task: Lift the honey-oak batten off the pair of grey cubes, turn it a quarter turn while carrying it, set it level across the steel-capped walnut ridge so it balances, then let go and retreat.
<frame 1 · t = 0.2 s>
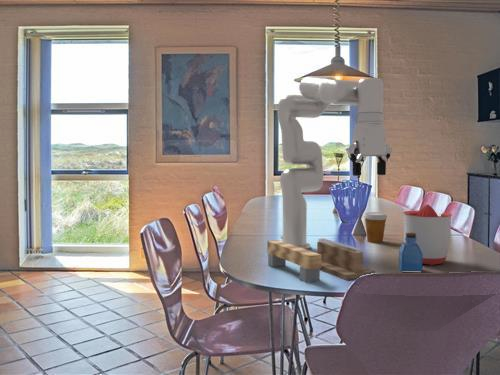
hand: (369, 175, 143), 31 cm above the table, tool pointing down, fingers open, 9 cm apart
perfume bottle: (410, 271, 149), on the table
disposable coffee cup: (375, 241, 198), on the table
pair of grey cubes: (292, 272, 147), on the table
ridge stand: (338, 269, 150), on the table
citrus juicer: (427, 261, 162), on the table
oak batten: (292, 259, 147), point 4 cm above the table, touching pair of grey cubes
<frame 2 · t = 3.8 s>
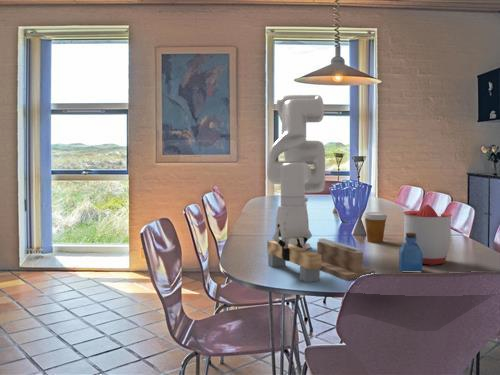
hand: (292, 258, 147), 4 cm above the table, tool pointing down, fingers closed on oak batten, 4 cm apart
oak batten: (292, 259, 147), point 4 cm above the table, touching gripper, pair of grey cubes
everything else where it was.
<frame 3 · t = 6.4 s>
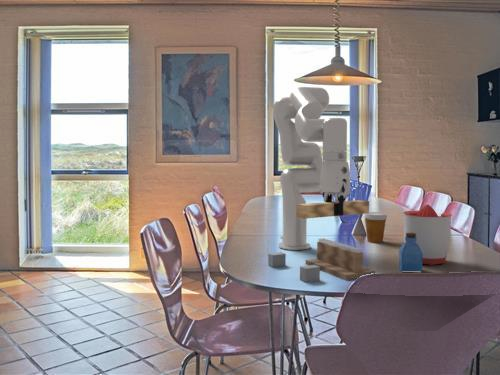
hand: (333, 214, 149), 18 cm above the table, tool pointing down, fingers closed on oak batten, 4 cm apart
oak batten: (333, 215, 149), point 18 cm above the table, touching gripper
everything else where it was.
when the fingers open (10 cm above the table, at t = 8.8 s): oak batten drops 1 cm, resting on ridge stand.
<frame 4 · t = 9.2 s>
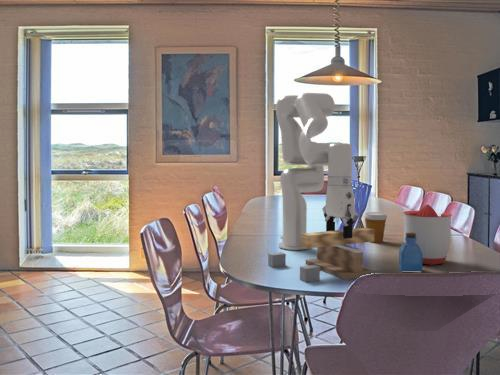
hand: (338, 235, 149), 11 cm above the table, tool pointing down, fingers open, 8 cm apart
oak batten: (338, 243, 150), point 8 cm above the table, touching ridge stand
everything else where it was.
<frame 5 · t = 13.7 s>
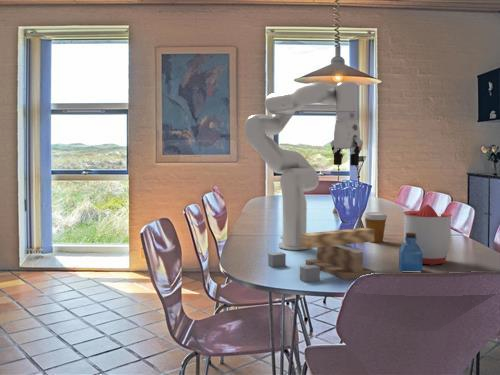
hand: (345, 165, 167), 33 cm above the table, tool pointing down, fingers open, 9 cm apart
nothing on the table moved.
at the end: oak batten inside the target area on the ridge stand (0.1 cm from its centre), point 8.5 cm above the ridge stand's base; oak batten tilted 0°; oak batten touching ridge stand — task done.
